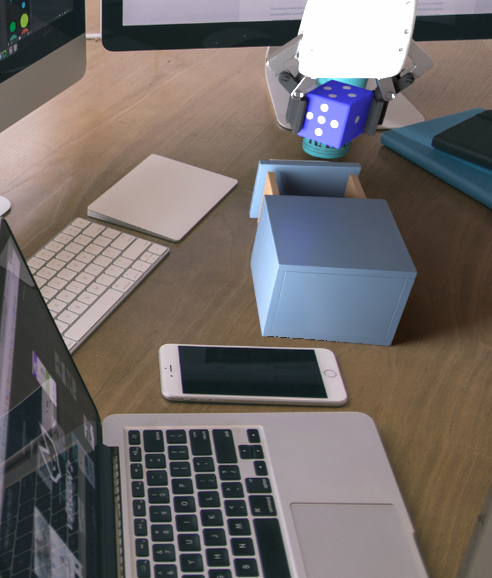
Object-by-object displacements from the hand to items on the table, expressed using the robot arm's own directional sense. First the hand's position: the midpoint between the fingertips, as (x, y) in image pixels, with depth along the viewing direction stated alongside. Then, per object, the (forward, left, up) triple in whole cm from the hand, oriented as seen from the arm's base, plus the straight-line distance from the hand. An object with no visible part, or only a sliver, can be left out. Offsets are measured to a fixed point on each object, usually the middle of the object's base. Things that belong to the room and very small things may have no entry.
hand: (331, 128), depth 86 cm
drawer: (0, -2, -15) cm, 15 cm away
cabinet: (0, +11, -16) cm, 19 cm away
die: (0, 0, -1) cm, 1 cm away
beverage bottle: (-6, -23, -16) cm, 29 cm away
